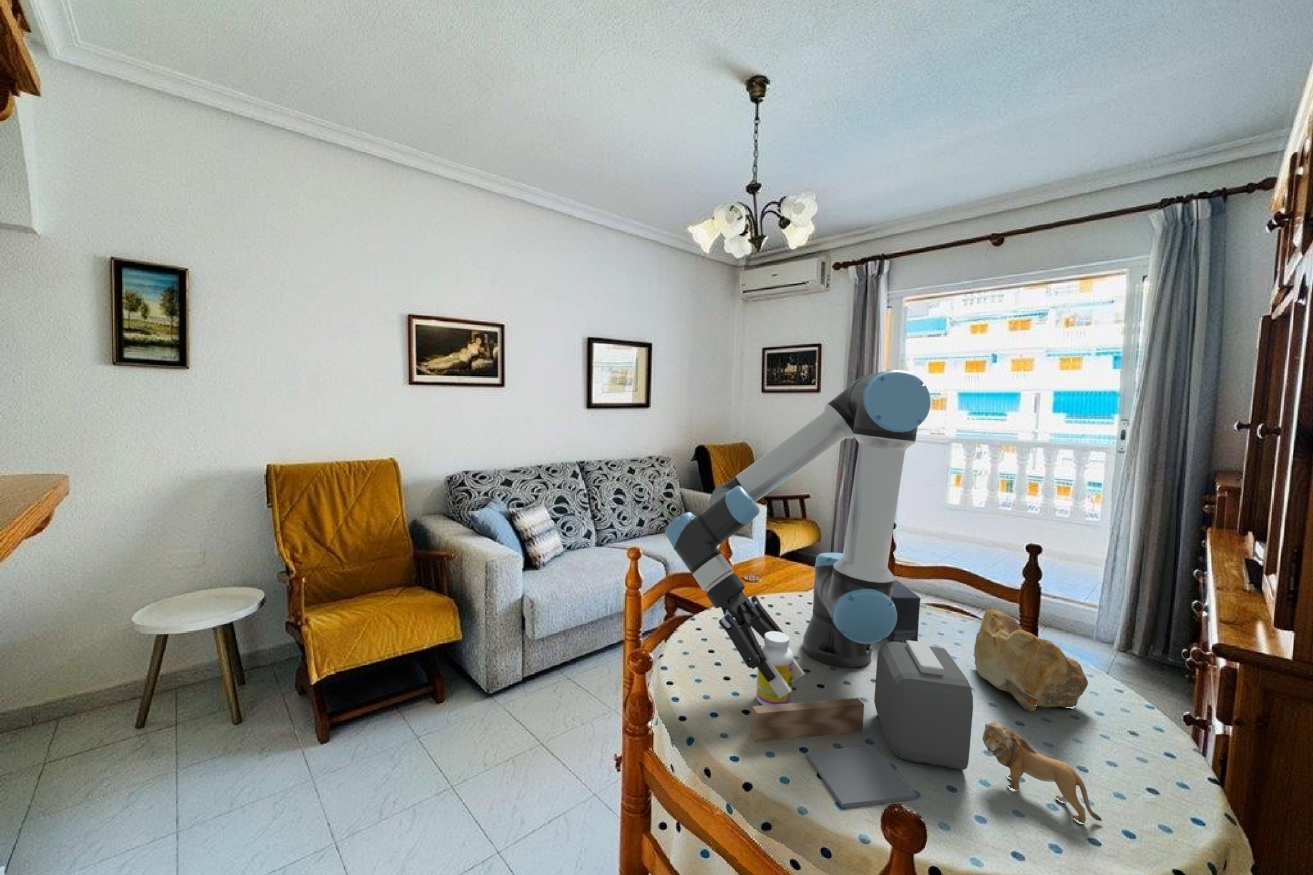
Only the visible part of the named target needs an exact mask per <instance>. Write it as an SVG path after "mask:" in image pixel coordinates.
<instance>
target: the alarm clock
mask: <svg viewBox="0 0 1313 875" xmlns="http://www.w3.org/2000/svg"><path fill="white" fill-rule="evenodd" d="M875 670H876V671H875V672H876V673H875V684H874V685H875V686H874V697H873V698H874V700H873V702H874V706H875V709H876V713H877V716H878V718H879V721H880V724H881V728H882V731H883V733H884V735H885V739H886V742H887V745H888V746H889V748H890V750H891V751H893V753H895V755H896V756H897V757H898V758H900V759H903V760H905V761H909V762H915V763H921V764H927V765H933V766H937V767H944V768H945V767H946V768H951V769H956V770H963V771H964V770H966V769H968V766H969V761H970V750H971V748H970V747H971V738H972V727H973V725H972V723H973V711H974V696H973V691H972V687H971V684H970V682H969V680H968V679H967V677H966V675H965V674H964V673H963V671H962V670H961V669H960V667H959V666H958V664H957V663H956V662H955V660H954V659H953V657H952V656H951V654H949V652H948V650H947V649H946V648H944V647H941V646H931V645H928V643H927V642H926V641H925V642H924V641H910V640H907V641H906V643H900V642H889V641H887V642H885V643H883V644H882V645H881V646H879V648H878V652H877V656H876V669H875Z"/></svg>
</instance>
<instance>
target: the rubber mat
mask: <svg viewBox="0 0 1313 875" xmlns="http://www.w3.org/2000/svg"><path fill="white" fill-rule="evenodd" d="M805 756H806V758H807V760H809V762H810V763H811V766H812V767H813V768H814V769H815V771H816V773H818V775H819V776H820V778H821V780H822V781H823V783H824V784H825V785H826V787H827V789H828V790H829V791H830V793H831V794H832V795H833V797H834V798H835V800H836V801H837V803H838V805H839V806H840V807H841V808H842V809H843V808H852V807H853V808H854V807H861V806H870V805H877V804H887V803H893V802H901V801H902V800H903V801H910V800H917V798H918V797H917V796H918V795H917V793H916V792H915V791H914V790H913V788H911V787H910V786H909V785H908V783H907V782H906V781H905V780H904V779H903V778H902V776H900V774H899V773H898V772H897V771H896V770H895V769H894V768H893V766H892V765H891V764H889V762H888V761H887V760H886V759H885V757H883V756H882V754H881V753H880V752H879V751H878V750H877V749H876V748H875V746H874V745H866V746H857V747H855V746H854V747H844V748H835V749H826V750H825V749H824V750H814V751H813V750H812V751H806V752H805Z"/></svg>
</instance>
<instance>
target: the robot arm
mask: <svg viewBox="0 0 1313 875" xmlns="http://www.w3.org/2000/svg"><path fill="white" fill-rule="evenodd" d="M931 401H932V400H931V394H930V392H929V388H928V387H927V385H926V384H925V383H924V381H923V380H922V379H921V378H920V377H918V376H917V375H915V374H913V373H911V372H909V371H904V370H898V369H886V370H882V371H880V372H874V373H869V374H865V375H863V376H861V377H858V379H856V380H854V381H853V382H852V383H851V384H849V386H848V387H846V388H845V389H844V390H843V391H842V392H839V394H838V395H837V396H835V397H834V398H833V399H832V400H830V401H829V402H827V403H826V404H825V406H824V411H823V412H822V413H820V414H819V415H818V416H816V417H815V418H813V419H812V420H810V421H809V422H808V423H807V424H805V425H804V426H802V427H801V428H800V429H798V430H797V431H796V432H794V433H793V434H791V435H790V436H789V437H788V438H786V439H785V440H783V441H781V443H779V444H777V445H776V446H775V447H773V448H772V449H771V450H770V451H768V452H767V453H765V454H764V455H762V456H761V457H760V458H759V459H757V460H756V461H754V462H753V463H752V464H750V465H749V466H748V467H746V468H745V469H743V470H742V471H741V472H739V473H738V474H737V475H735V476H734V477H733V478H731V479H730V480H729V481H727V482H726V483H722V484H720V485H718V486H717V487H715V489H713V490H712V493H711V495H710V502H709V504H710V506H708V507H707V508H706V509H705V510H703V511H702V512H701V513H699V514H698V515H694V513H692V512H691V511H688V512H684V513H682V514H681V515H680V516H678V517H676V518H675V519H674V520H672V521H671V522H670V523H669V524H668V525H667V526H666V528H665V531H664V533H665V536H666V537H667V539H668V541H669V542H670V544H671V546H672V548H673V550H674V552H676V553H677V556H678V557H679V558H680V559H681V561H683V563H684V565H685V566H686V568H687V570H688V571H689V573H690V574H691V575H692V576H693V578H694V579H695V580H696V582H697V583H698V585H699V587H700V588H701V589H702V591H706V594H705V595H706V597H707V599H708V600H709V602H710V603H711V605H712V607H714V608H715V609H719V608H720V609H721V611H722V613H723V616H722V618H721V619H719V620H718V624H719V626H720V627H721V628H722V629H723V630H724V631H725V632H726V634H727V635H728V637H729V639H730V641H732V644H733V645H734V647H735V649H736V650H737V651H738V654H739V656H740V657H741V658H742V660H743V662H744V663H745V665H746V667H747V668H750V669H752V670H754V669H756V668H757V670H758V669H759V670H760V672H761V673H762V675H763V676H764V677H765V679H766V680H767V681H768V683H769V684H770V685H771V687H772V688H773V690H774V691H775V693H776V694H777V696H778V697H779V699H780V698H782V697H783V696H785V695H787V694H788V693H790V692H791V691H792V692H793V689H792V690H791V689H790V687H789V686H788V684H787V683H786V682H785V680H784V679H783V677H782V676H781V674H780V673H779V672H778V670H777V669H776V667H775V666H774V665H773V663H772V662H771V660H770V659H767V660H766V658H765V656H764V654H763V652H762V650H761V646H760V643H759V642H758V640H757V637H756V635H755V633H754V631H755V632H756V633H757V634H758V635H759V636H760V637H761V638H762V639H763V640H764V636H765V633H767V632H770V631H777V632H781V633H784V631H783V630H782V629H781V628H780V626H779V625H778V624H777V623H776V622H775V620H774V619H773V618H772V616H771V615H770V614H769V613H768V611H767V610H766V609H765V608H764V606H763V605H762V604H761V602H760V600H759V598H758V596H756V595H753V596H751V597H748V596H747V595H746V594H744V590H745V587H746V586H745V584H744V582H743V581H742V580H741V578H740V577H739V576H738V574H737V573H735V572H733V567H732V566H731V564H730V563H729V562H728V560H727V559H726V558H725V556H724V555H723V553H722V552H721V551H720V550H719V548H718V547H719V546H720V545H721V544H723V543H724V542H725V541H726V540H728V539H729V538H730V537H732V536H733V535H735V534H736V533H737V532H738V531H740V530H741V529H743V528H744V527H745V526H747V525H749V524H750V523H751V522H752V521H753V520H754V519H755V518H756V517H757V516H759V515H760V512H761V511H760V508H759V506H758V504H757V502H758V501H759V500H761V499H762V498H763V497H765V496H766V495H768V494H769V493H770V492H772V491H773V490H774V489H776V488H777V487H780V486H781V484H783V483H784V482H786V481H788V480H789V479H790V478H792V477H793V476H795V474H797V473H798V472H800V471H801V470H803V469H804V468H805V467H807V466H808V465H810V464H811V463H813V462H814V461H815V460H816V459H818V458H819V457H820V456H821V457H822V456H823V455H824V454H825V453H827V452H828V451H829V450H831V449H832V448H834V447H835V446H836V445H838V444H840V443H841V442H842V441H844V440H845V439H851V440H852V439H854V438H855V439H856V441H857V443H858V449H857V458H856V463H855V470H854V477H853V484H852V492H851V498H850V502H849V503H850V504H849V511H848V516H847V517H848V518H847V524H846V531H845V536H844V537H845V539H844V544H843V545H844V546H843V551H842V553H841V552H823V553H822V552H821V553H819V554H818V555H817V556H816V558H815V565H814V582H813V585H814V586H813V601H812V603H813V604H812V615H811V618H810V620H809V623H808V624H807V627H806V630H805V633H804V635H803V640H802V648H803V650H804V652H805V653H806V654H807V655H808V656H809V657H811V658H812V659H813V660H814V659H815V660H816V661H819V663H820V662H821V663H823V664H826V665H830V666H832V667H833V666H834V667H840V668H849V669H850V668H861V667H864V666H867V665H868V664H870V662H871V661H872V656H873V654H872V653H873V648H872V644H875V643H878V642H880V641H882V640H883V639H886V638H885V637H887V636H888V635H889V634H890V633H891V632H892V631H893V629H894V627H895V625H896V622H897V611H896V608H895V605H894V603H893V601H892V600H891V596H892V589H893V582H894V579H895V576H894V574H893V573H892V572H891V571H890V569H889V567H888V564H889V558H890V552H891V545H892V538H893V532H894V527H895V526H894V525H895V519H896V513H897V508H898V507H897V506H898V500H899V493H900V487H901V480H902V476H903V475H902V473H903V469H904V468H903V467H904V460H905V454H906V450H907V449H908V448H910V447H911V446H912V445H914V444H915V443H916V439H917V434H918V427H919V426H920V425H922V423H924V422H925V420H926V419H927V417H928V415H929V413H930V411H931V410H930V409H931V403H932V402H931ZM753 630H754V631H753ZM805 674H806V673H805V672H804V671H803V669H802V668H801V666H800V665H799V664H798V662H797V660H795V658H794V660H793V678H792V683H793V682H795V681H797V680H798V679H800V678H802V677H803V676H804V675H805Z"/></svg>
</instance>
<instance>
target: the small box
mask: <svg viewBox="0 0 1313 875" xmlns="http://www.w3.org/2000/svg"><path fill="white" fill-rule="evenodd" d="M891 600H892V601H893V603H894V605H895V608H896V611H897V622H896V625H895V627H894V629H893V631H892V632H891V633H890V634H889V635H888V636H887V637H885V638H884V639H886V640H887V642H900V643H906V641H907V640H910V641H918V639H919V637H918V636H919V622H920V621H919V620H920V607H921V597H920V596H919V595H917V594H916V593H915V592H914V591H912V590H910V589H909V588H908V587H907V586H905V585H904V584H903V583H901V582H899V580H897V579H896V578H894V582H893V589H892V596H891ZM918 642H919V641H918Z"/></svg>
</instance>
